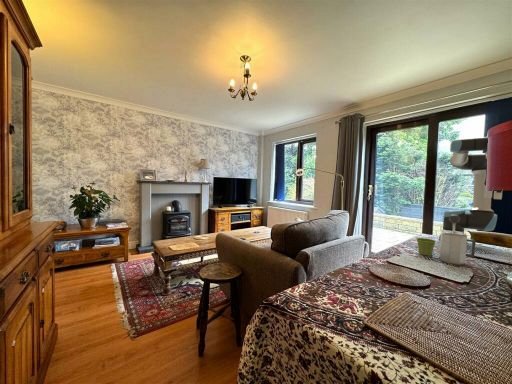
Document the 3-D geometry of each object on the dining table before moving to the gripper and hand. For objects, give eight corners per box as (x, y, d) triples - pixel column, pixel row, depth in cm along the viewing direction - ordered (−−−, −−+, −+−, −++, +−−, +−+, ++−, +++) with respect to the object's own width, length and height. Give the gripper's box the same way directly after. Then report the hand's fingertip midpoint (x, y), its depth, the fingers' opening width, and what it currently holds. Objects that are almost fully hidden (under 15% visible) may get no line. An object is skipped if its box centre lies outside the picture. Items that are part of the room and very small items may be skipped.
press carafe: (437, 256, 126) (439, 229, 125) (470, 261, 118) (472, 232, 118) (440, 262, 117) (442, 232, 116) (476, 267, 110) (478, 236, 109)
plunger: (442, 249, 123) (444, 213, 122) (459, 252, 119) (462, 214, 118) (444, 253, 117) (447, 214, 116) (462, 256, 113) (465, 216, 112)
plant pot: (412, 252, 132) (412, 238, 131) (421, 250, 136) (421, 237, 135) (429, 257, 123) (430, 242, 123) (438, 255, 127) (439, 241, 127)
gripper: (478, 161, 129) (476, 196, 130) (494, 156, 108) (491, 199, 109) (496, 160, 125) (494, 197, 126) (516, 156, 104) (513, 200, 105)
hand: (492, 198), depth 118 cm, fingers open, 13 cm apart
